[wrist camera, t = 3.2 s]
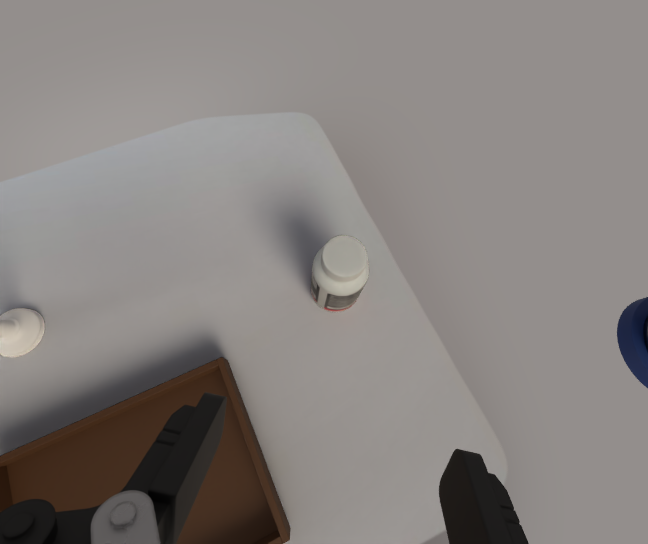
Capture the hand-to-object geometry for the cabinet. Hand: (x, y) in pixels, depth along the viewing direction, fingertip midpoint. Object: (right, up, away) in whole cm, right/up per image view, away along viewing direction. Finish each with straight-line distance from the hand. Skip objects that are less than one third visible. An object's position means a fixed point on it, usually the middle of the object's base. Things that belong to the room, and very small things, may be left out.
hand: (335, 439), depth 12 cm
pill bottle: (+1, +4, +28) cm, 28 cm away
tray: (-16, -14, +20) cm, 29 cm away
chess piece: (-31, 0, +24) cm, 40 cm away
